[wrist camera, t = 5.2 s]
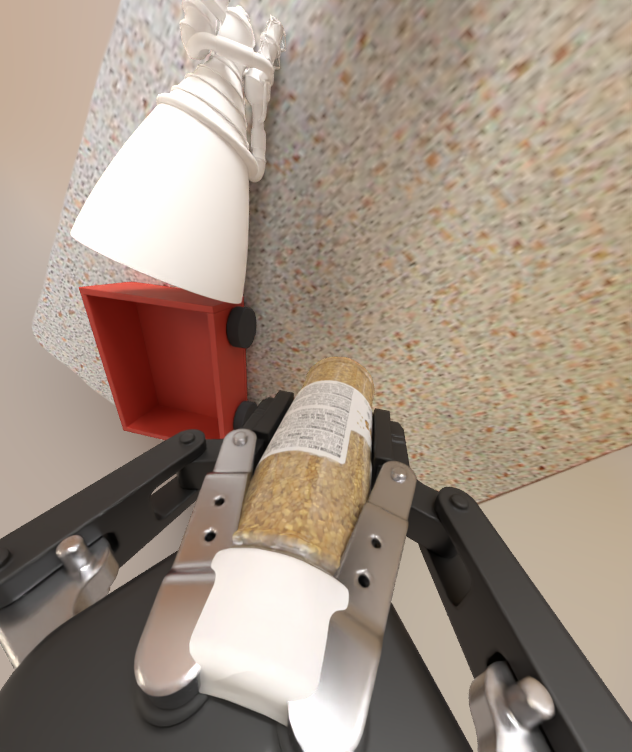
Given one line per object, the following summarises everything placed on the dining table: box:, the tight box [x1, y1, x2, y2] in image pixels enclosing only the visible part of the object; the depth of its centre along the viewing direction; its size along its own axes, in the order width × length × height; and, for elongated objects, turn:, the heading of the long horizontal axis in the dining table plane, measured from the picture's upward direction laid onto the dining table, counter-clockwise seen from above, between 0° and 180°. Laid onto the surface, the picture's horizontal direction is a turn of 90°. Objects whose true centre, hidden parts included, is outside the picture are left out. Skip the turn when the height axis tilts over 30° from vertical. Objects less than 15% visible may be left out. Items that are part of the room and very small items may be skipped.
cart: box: [79, 282, 247, 440], centre depth 28 cm, size 16×13×6 cm
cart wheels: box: [227, 306, 257, 430], centre depth 28 cm, size 15×16×4 cm
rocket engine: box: [70, 0, 286, 304], centre depth 18 cm, size 12×12×18 cm
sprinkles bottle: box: [189, 357, 374, 727], centre depth 11 cm, size 5×5×13 cm
